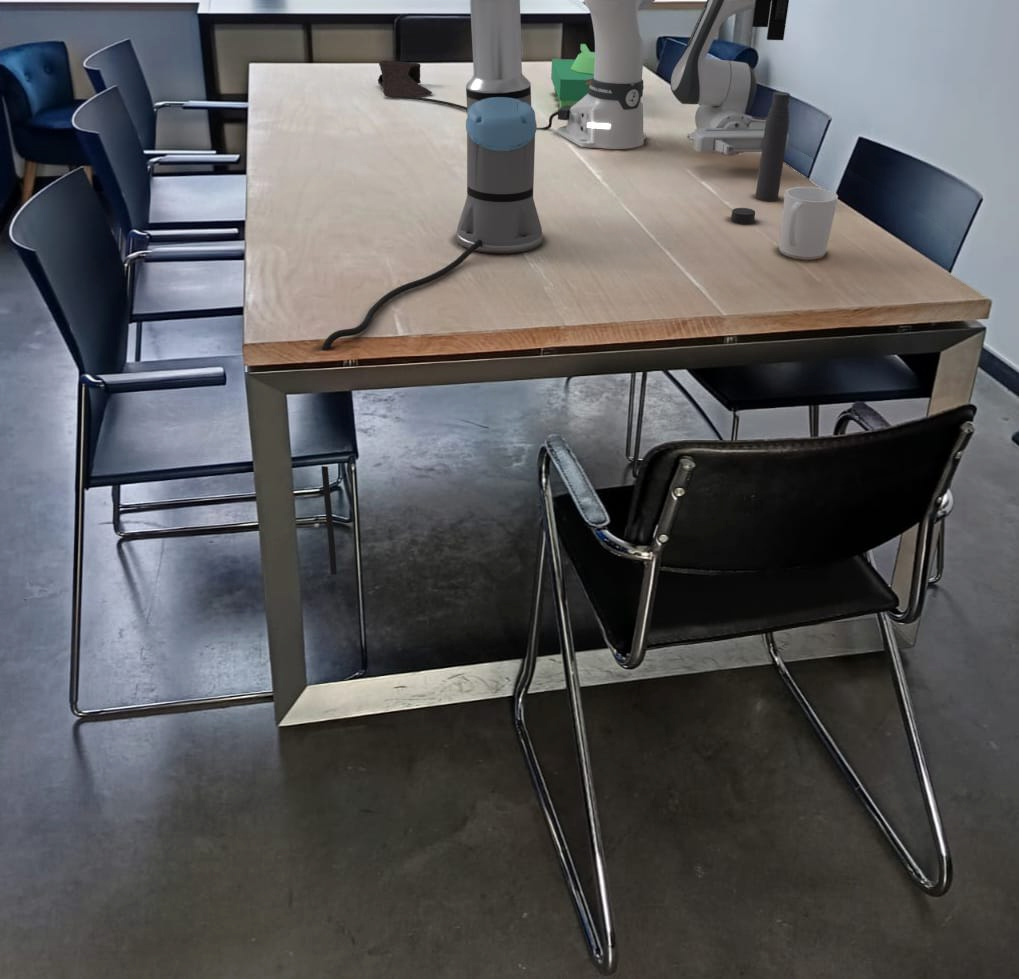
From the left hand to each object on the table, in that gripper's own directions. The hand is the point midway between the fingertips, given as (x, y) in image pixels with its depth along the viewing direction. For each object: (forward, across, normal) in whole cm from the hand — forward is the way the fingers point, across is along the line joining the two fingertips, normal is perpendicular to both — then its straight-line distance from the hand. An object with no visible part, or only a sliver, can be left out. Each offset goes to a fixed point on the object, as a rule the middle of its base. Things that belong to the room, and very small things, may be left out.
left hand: (767, 33), depth 191 cm
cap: (+32, 0, 0) cm, 32 cm away
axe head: (+33, +108, +74) cm, 135 cm away
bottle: (+33, +15, -8) cm, 37 cm away
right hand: (+27, +27, -6) cm, 38 cm away
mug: (+33, -19, -7) cm, 39 cm away
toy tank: (+33, +102, +24) cm, 110 cm away
